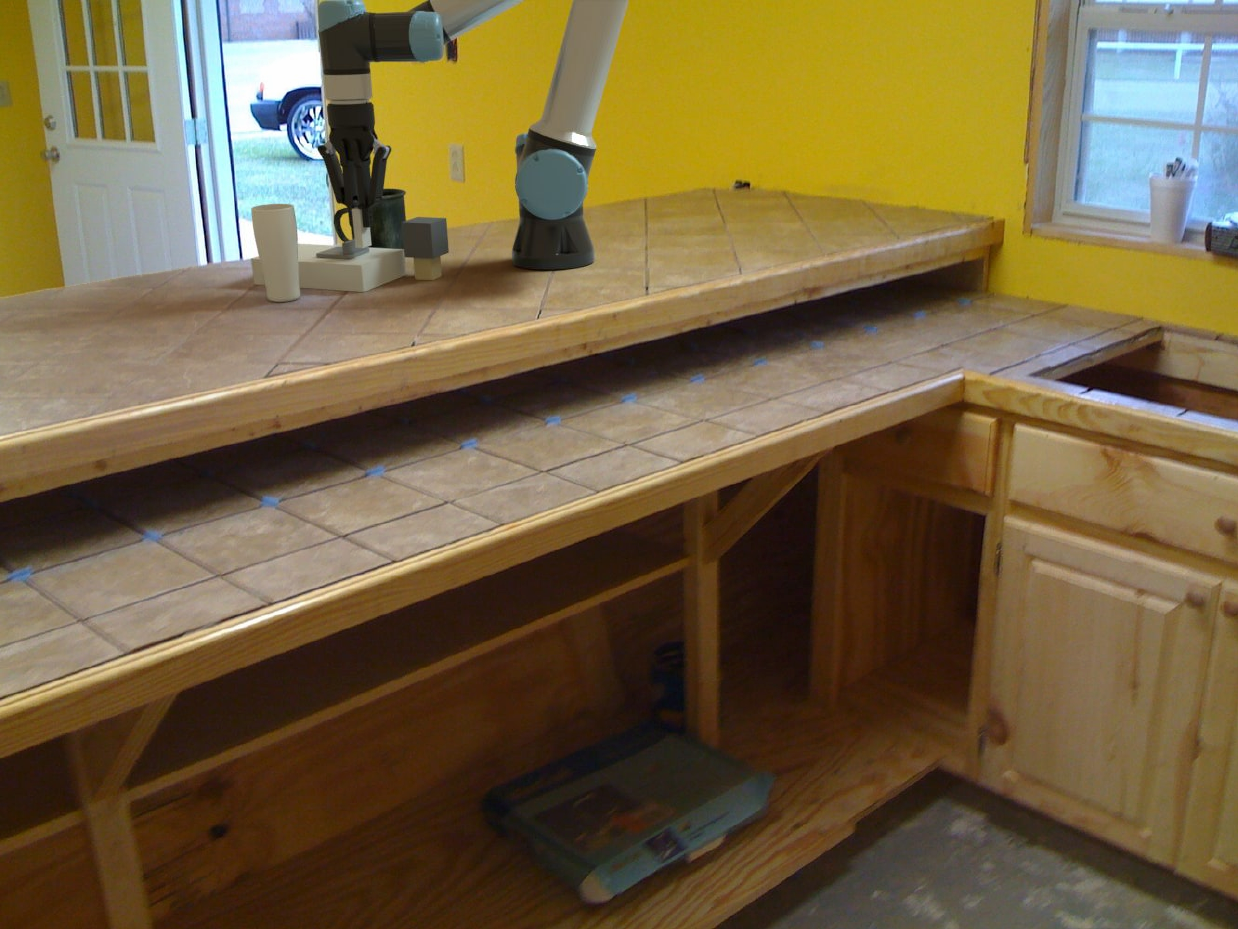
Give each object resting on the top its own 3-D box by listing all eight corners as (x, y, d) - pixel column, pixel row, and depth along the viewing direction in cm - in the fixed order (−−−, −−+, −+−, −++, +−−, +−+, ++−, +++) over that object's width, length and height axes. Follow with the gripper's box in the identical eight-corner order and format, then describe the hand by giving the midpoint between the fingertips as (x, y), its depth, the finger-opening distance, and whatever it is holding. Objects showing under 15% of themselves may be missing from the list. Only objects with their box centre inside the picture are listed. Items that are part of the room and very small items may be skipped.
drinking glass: (283, 305, 191) (271, 211, 185) (253, 301, 194) (241, 208, 189) (314, 297, 196) (303, 205, 190) (285, 292, 199) (273, 202, 194)
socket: (406, 274, 211) (404, 249, 209) (363, 292, 198) (361, 265, 197) (301, 268, 218) (298, 243, 216) (254, 284, 206) (250, 258, 204)
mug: (422, 256, 226) (416, 192, 222) (353, 267, 218) (346, 201, 213) (392, 248, 234) (387, 186, 230) (325, 259, 225) (318, 195, 221)
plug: (450, 275, 210) (446, 218, 206) (434, 281, 205) (430, 223, 201) (422, 273, 211) (417, 216, 208) (406, 280, 207) (401, 222, 203)
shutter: (369, 251, 207) (368, 236, 206) (349, 258, 202) (347, 243, 201) (337, 249, 210) (336, 235, 209) (316, 256, 204) (314, 241, 203)
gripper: (396, 100, 194) (408, 244, 203) (328, 99, 199) (342, 240, 207) (372, 103, 188) (385, 252, 196) (302, 102, 192) (318, 248, 201)
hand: (363, 246), depth 202 cm, fingers closed
